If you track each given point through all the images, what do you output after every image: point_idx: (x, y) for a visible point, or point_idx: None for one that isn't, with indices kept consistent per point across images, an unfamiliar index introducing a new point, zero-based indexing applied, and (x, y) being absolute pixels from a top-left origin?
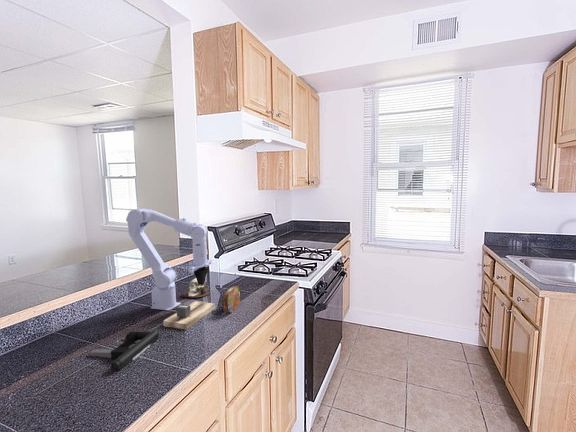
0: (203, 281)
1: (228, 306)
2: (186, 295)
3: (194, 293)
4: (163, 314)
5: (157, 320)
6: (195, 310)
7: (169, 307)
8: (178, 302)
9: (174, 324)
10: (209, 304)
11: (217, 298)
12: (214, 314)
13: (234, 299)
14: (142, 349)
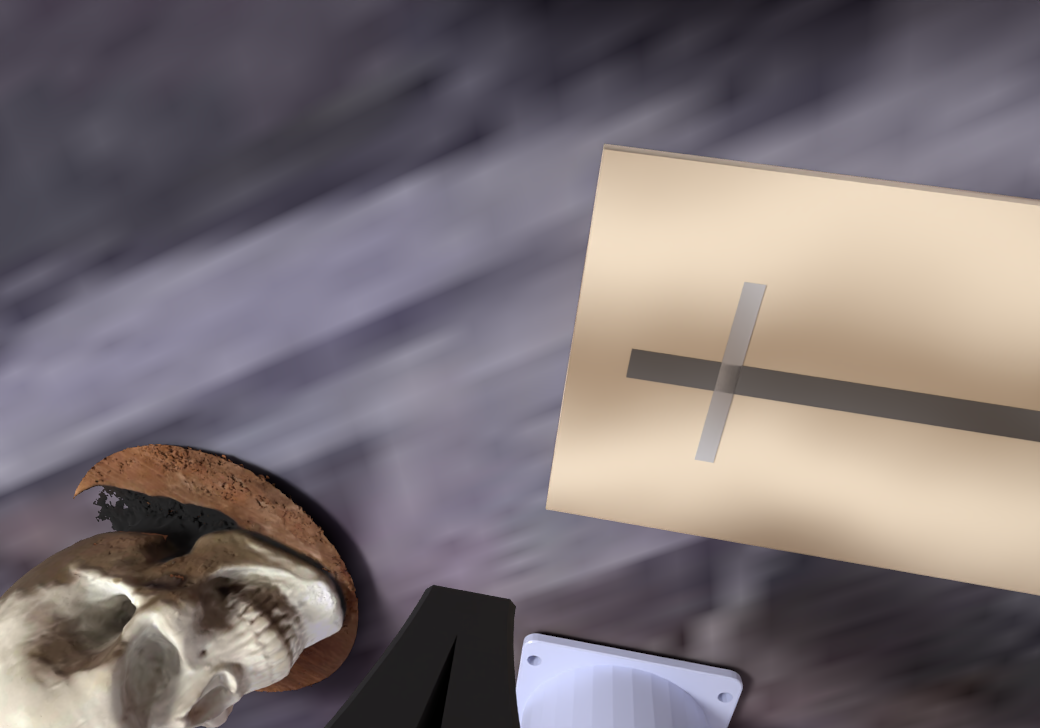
0: (474, 666)
1: None
2: (306, 654)
3: (287, 599)
4: (834, 685)
5: (1007, 684)
6: (930, 364)
7: (688, 697)
8: (523, 663)
9: None
10: (656, 236)
11: (237, 271)
12: (876, 34)
13: None
14: None
